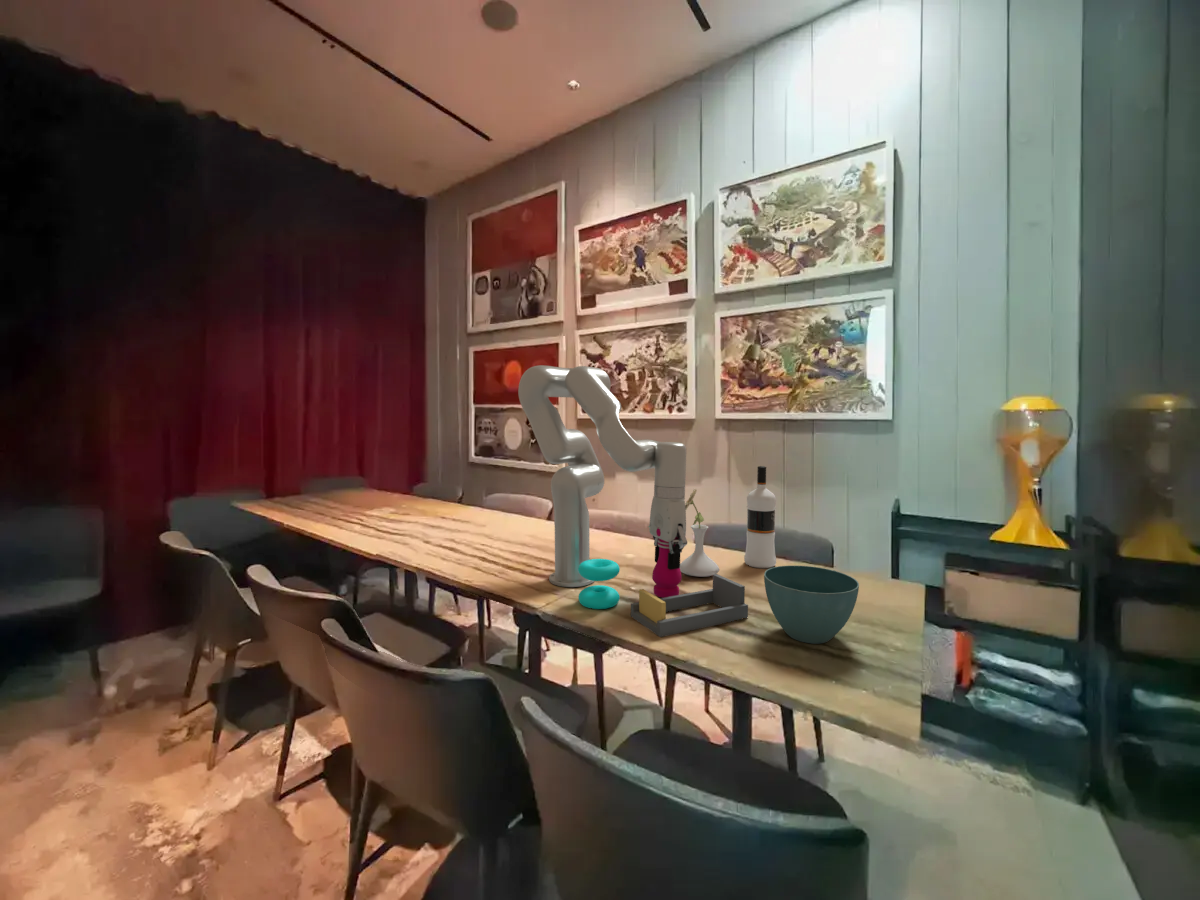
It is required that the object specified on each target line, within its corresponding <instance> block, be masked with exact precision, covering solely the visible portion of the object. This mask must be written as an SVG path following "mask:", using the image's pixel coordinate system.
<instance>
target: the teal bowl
mask: <svg viewBox="0 0 1200 900" xmlns="http://www.w3.org/2000/svg"><path fill="white" fill-rule="evenodd" d="M763 579H764V580H763V581H764V587H765V592H766V593H765V594H766V597H767V601H768V604H769V607H770V609H771V611H772V613H773V614H772V615H773V616H774V617H775V620H776V621H777V623H778V624H779V626H780V627H781V629H783V631H784V632H785V633H786V634H787V636H789V637H790V638H792V639H794V640H795V641H798V642H801V643H806V644H812V645H813V644H824V643H828V642H829V641H830V640H832V639H833V638H834V637H835V636H837V634H838V633H839V632H840V631H841V630H843V628H844V627H845V625H846V624H847V623H848V621H849V619H850V617H851V615H852V614H853V611H854V609H855V606H856V602H857V599H858V595H859V591H860V590H859V589H860V588H859V587H860V583H859V581H858V580H857V579H856V578H854V577H852V576H850V575H848V574H846V573H843V572H840V571H837V570H833V569H829V568H825V567H820V566H819V567H818V566H817V567H816V566H809V565H780V566H775V567H774V566H773V567H771V568H767V569H766V570H764V575H763Z"/></svg>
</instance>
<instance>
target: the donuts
mask: <svg viewBox="0 0 1200 900" xmlns="http://www.w3.org/2000/svg"><path fill="white" fill-rule="evenodd" d="M620 569H621V567H620V565H619V564H618V563H617V562H616V561H614V560H612V559H607V558H592V559H590V560H586V561H584V562H582V563H581V564H580V565H579V568H578V571H579V574H580V575H581V576H582V577H583V578H585V579H588V580H592V581H594V582H605V581H610V580H612V579H614V578H616V577H617V576H618V575H619V573H620V571H621V570H620ZM577 599H578V602H579V603H580V604H581V605H582V606H583V607H585V608H588V609H591V608H592V609H593V610H606V609H611V608H613V607H615V606H616V605H618V604H619V602H620V593H619V592H618V590H616V589H615V588H613V587H611V586H608V585H602V584H600V585H598V584H595V585H590V586H589V585H588V586H587V587H584V588H583V589H582V590H581V591H580V592H579V593H578V598H577ZM592 609H591V610H592Z"/></svg>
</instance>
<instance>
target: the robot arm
mask: <svg viewBox="0 0 1200 900" xmlns="http://www.w3.org/2000/svg"><path fill="white" fill-rule="evenodd" d="M611 383H612V382H611V378H610V377H609V375H608V373H607V372H606V371H604V370H603V369H602V368H600V367H599V368H598V367H593V366H586V365H579V366H575V367H560V366H552V365H543V364H541V365H534V366H531V367H529V368H527V370H525V371H524V372H523V374H522V375H521V378H520V380H519V384H518V391H517V392H518V394H517V395H518V399H519V403H520V406H521V408H522V410H523V412H524V414H525V416H526V417H527V420H528V422H529V423H530V427H531V430H532V432H533V434H534V438H535V439H536V441H537V444H538V446H539V449H540V453H542V456H543V458H544V460H545V461H546V462H547V463H549V464H550V465H551V464H552V465H562V464H567V466H563V467H562V468H559V469H558V470H556V471H555V473H554V474H553V475H552V477H551V479H550V491H551V498H552V502H553V512H554V513H553V515H554V516H553V517H554V520H553V521H554V524H553V525H554V572H552V573H551V574H550V575H549V577H548V578H549V583H550V584H552V585H555V586H558V587H563V588H579V587H584V586H589V585H591V584H593V583H594V582H595V581H592V580H588V579H585V578H583V577H582V576H581V575H580V574H579V571H578V568H579V565H580V564H581V563H582V562H584V561H586V560H590V558H591V557H590V512H589V508H588V505H587V502H586V498H590V497H593V496H596V495H599V493H600V492H601V491H602V490H603V488H604V486H605V475H604V471H603V468H602V466H601V463H600V462H599V459H598V457H597V454H596V452H595V449H594V447H593V445H592V443H591V441H590V439H589V438H588V437H587V435H586V434H585V433H584V432H583V431H582V430H579V429H576V428H567V427H566V425H565V424H564V422H563V420H562V418H561V414H560V413H559V411H558V409H557V408H556V407H555V405H554V404H553V403H552V401H551V400H550V398H573V399H574V401H576V403H578V405H579V406H580V408H581V409H582V410H583V411H584V412H585V414H587V416H588V417H589V418H590V420H591V421H592V423H594V425H595V427H596V428H595V429H596V433H597V437H598V440H599V442H600V444H601V445H602V446H601V447H602V448H603V449H604V450H605V451H606V453H607V454H608V455H609V457H610V458H611V459H612V460H613V461H614V463H616V465H617V466H618V467H620V468H621V469H622V470H624V471H626V472H630V473H634V472H641V471H644V470H651V469H654V479H653V480H654V482H653V483H654V487H653V496H652V500H651V506H650V516H649V525H648V526H649V527H648V529H649V533H650V535H651V536H652V539H653V541H654V542H653V546H654V562H655V563H657V561H658V558H659V546H658V540H659V539H662V540H664V541H666V542H669V549H670V553H668V569H670V570H671V569H678V568H680V564H681V553H682V552H683V549H684V548H685V547H686V546H687V545H688V539H687V538H686V536H687V535H686V534H687V509H685V505H686V502H685V499H686V474H687V473H686V471H687V447H686V445H685V444H684V443H682V442H675V441H657V440H654V439H653V440H652V439H637V440H635V439H634V438H633V437H632V436H631V435H630V434H629V432H628V431H627V430H626V428H625V427H624V426H623V425H622V422H621V421H620V417H619V416H620V415H619V414H620V412H621V411H622V404H621V402H620V401H619V400H618V399H617V397H616V396H615V395H614V393H612V392H611V386H612V385H611ZM658 527H659V528H658ZM657 528H658V529H660V532H661V535H660V536H657V533H656V531H657ZM675 537H678V538H677V540H674V539H675ZM674 542H676V543H677V544H676V545H675V546H674V545H673V543H674Z"/></svg>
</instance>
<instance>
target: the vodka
mask: <svg viewBox="0 0 1200 900" xmlns="http://www.w3.org/2000/svg"><path fill="white" fill-rule="evenodd" d="M756 477H757V479H756V480H757V481H756V488H755V489H753V490H751V491H750V492H749V493H748V494H747V496H746V502H747V503H746V509H747V511H746V512H747V516H746V517H747V519H746V522H747V523H746V547H745V554H744V555H743V556H744V557H743V558H744V559H743V560H744V562H745V563H744V564H745V565H747V566H748V565H749V567H751V568H754V569H755V568H756V569H770V568H773V567H774V566H775V567H776V564H777V557H776V549H775V546H776V545H775V536H776V532H775V531H776V529H775V528H776V527H775V525H776V523H775V521H776V515H775V514H776V509H777V507H776V502H777V497H776V495H775V493H773V492H772V491H771V490H769V489H768V488H767V466H765V465H760V466H757V476H756Z"/></svg>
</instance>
